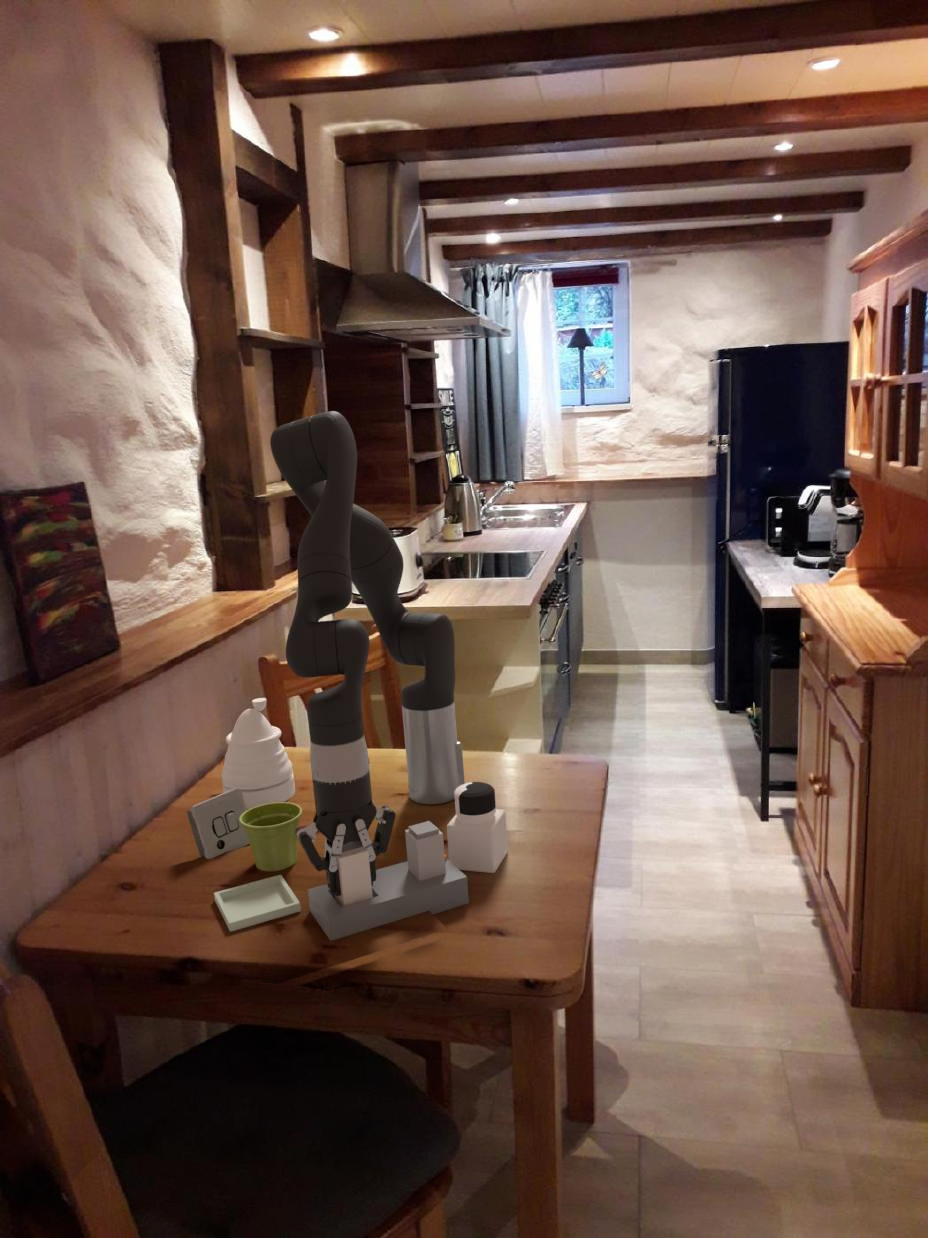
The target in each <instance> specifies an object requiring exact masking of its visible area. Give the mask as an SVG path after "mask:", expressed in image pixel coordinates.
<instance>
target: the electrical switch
mask: <svg viewBox="0 0 928 1238" xmlns="http://www.w3.org/2000/svg"><path fill="white" fill-rule="evenodd" d="M245 811H247V807H246V804H245V801H244V798H243V794H242V791H241V789H238V788H234V789H232V790H229V791H227V792H225V793H220V794H218V795H215V796H213V797H211V798H208V799H206V800H204V801H201V802H198V803H197V804H194V805H192V807H191V808H190V809H187V810H186V814H187V818H188V821H189V824H190V829H191V831H192V834H193V838H194V840H195V843H196V848H197V851H198V853H199V856H200V857H202V858H203V857H204V858H205V859H206V860H211V859H214V858H216V857H218V856H220V855H222V854H224V853H226V852H228V853H229V852H230V851H235V850H239V849H242V848H243V847H246V846H248V845H250V842H249V839H248V836H247V833H246V832H245V830H244V827H243V825H242V824H241V823H240V821H239V818H240V816H241V814H242V813H244V812H245Z"/></svg>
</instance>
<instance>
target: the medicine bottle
mask: <svg viewBox="0 0 928 1238" xmlns="http://www.w3.org/2000/svg"><path fill="white" fill-rule="evenodd" d="M454 796H455V799H454V806H455V815H454V816H453V817H452V818H451V820H450V821H449V822H448V823H447V825H446V835H447V849H448V860H449V861H450V862H451V863H452V864H453V865H455V866H456V867H457V868H458V869H459V870H460V871H469V872H476V873H477V872H478V873H479V872H480V873H487V874H488V873H489V874H494V873H496V871H497V869H499V867H500V865H501V864H502V862H503V860H504V859H505V857H506V856H507V853H508V851H509V849H508V836H507V834H508V833H507V819H506V811H505V810H504V809H497V807H496V806H497V805H496V790H495V788H494V787H493V786H492V785H491V784H489V783H487V782H482V781H471V782H470V781H469V782H466V783H465V784H463V785H461V786H459V787H458V788H457V789H456V790H455V792H454Z"/></svg>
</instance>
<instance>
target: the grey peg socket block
mask: <svg viewBox="0 0 928 1238" xmlns="http://www.w3.org/2000/svg"><path fill="white" fill-rule="evenodd" d="M404 831H405V832H404V835H405V836H404V837H405V845H406V855H407V857H406V858H407V860H406V861H403V862H399V863H397V864H396V863H395V864H392V865H389V866H385V867H382V868H378V869H376V881H373V886H372V895H373V898H370V899H367V900H363V901H360V902H357V903H353V904H350V905H346V906H343V907H340V906H339V904H338V903H337V902H336V899H335V893H332V892H331V890H330V889H329V887H328V885H327V883H326V884H322V885H319V886H318V885H317V886H314V887H312V888H307V898H308V905H309V911H310V913H311V915H312V916H313V918H314V919H315V920H316V922H317V923H318V924H319V926H320V927H321V929H322V931H323V932H324V933H325V935H326V936H327V938H328V939H329V941H330V942H333V941H336V940H338V939H343V938H345V937H348V936H351V935H354V934H359V933H361V932H364V931H369V930H371V929H373V928H377V927H380V926H384V925H387V924H390V923H393V922H396V921H401V920H403V919H405V918H406V919H407V918H410V917H413V916H415V915H418V914H422V913H426V912H428V911H429V912H430V913H431V914H432V915H435V914H438V913H442V912H445V911H448V910H452V909H454V908H458V907H462V906H465V905H467V904H469V903H470V902H469V890H468V888H469V886H468V877H467V875H465V873H464V872H462V870H459V869H458V868H457V867H456V866H455V865H453V864H452V863H451V862H450V861H449V858H447V855H446V853H445V842H444V833H443V832H442V831H441V830H440V829H439V828H438V827H437V826H436V825H434V824H433V823H432V821H430V820H427V821H424V822H420V823H415V824H412V825H409V826H408V828H407V829H405V830H404Z"/></svg>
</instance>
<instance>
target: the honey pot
mask: <svg viewBox="0 0 928 1238" xmlns="http://www.w3.org/2000/svg"><path fill="white" fill-rule="evenodd" d="M267 701H268V700H267V698H266V697H259V698H258V697H257V698H254V699H253V700H251V703H252V706H253V708H247V709H245V710H243V712H241V714H240V715H239V716H238V718H237V720H236V722H235V725H234V727H233V730H232V732H230V733H229V734H228V735H226V737H225V742H226V744H227V745H228V747H227V750H226V753H225V754H224V763H223V768H222V770H221V782H222V791H223V793H225V792H227V791H229V790H232V789H234V788H238V789H241V791H242V794H243V798H244V801H245V804H246V807H247V809H251V808H253V807H255V806H259V805H262V804H267V803H275V802H287V801H288V800H290V799H291V798H292V797H294V795H295V793H296V787H295V786H296V784H295V776H294V769H293V763H292V761H291V760H290V758H288V756H289V755H288V753H287V752H286V751H285V749H286V748H285V747H284V745H283V744H282V742H281V740H280V737H282V730H281V729H280V728H279V727H277V726H273V725H271V723H270V722H269V721H268V719H267V718H266V717H265V715H263V714H262V713H261V711H262V710H263V711H264V709H265V708H266V706H267Z"/></svg>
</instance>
